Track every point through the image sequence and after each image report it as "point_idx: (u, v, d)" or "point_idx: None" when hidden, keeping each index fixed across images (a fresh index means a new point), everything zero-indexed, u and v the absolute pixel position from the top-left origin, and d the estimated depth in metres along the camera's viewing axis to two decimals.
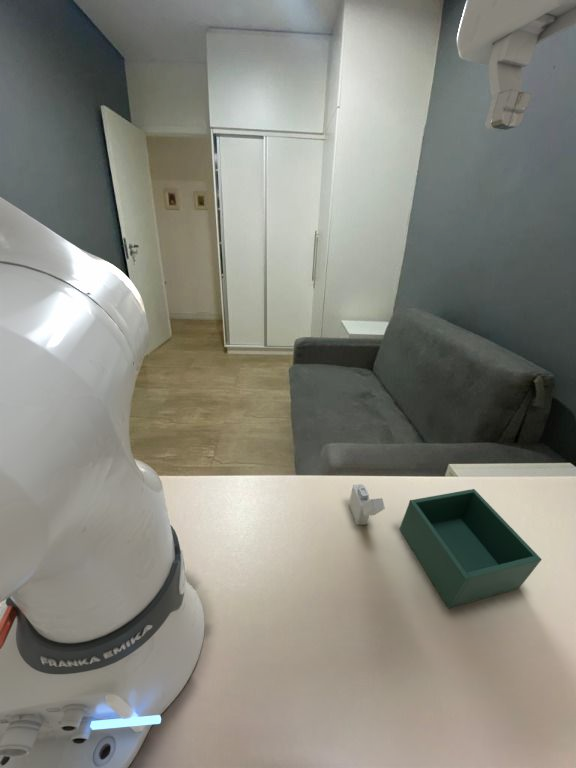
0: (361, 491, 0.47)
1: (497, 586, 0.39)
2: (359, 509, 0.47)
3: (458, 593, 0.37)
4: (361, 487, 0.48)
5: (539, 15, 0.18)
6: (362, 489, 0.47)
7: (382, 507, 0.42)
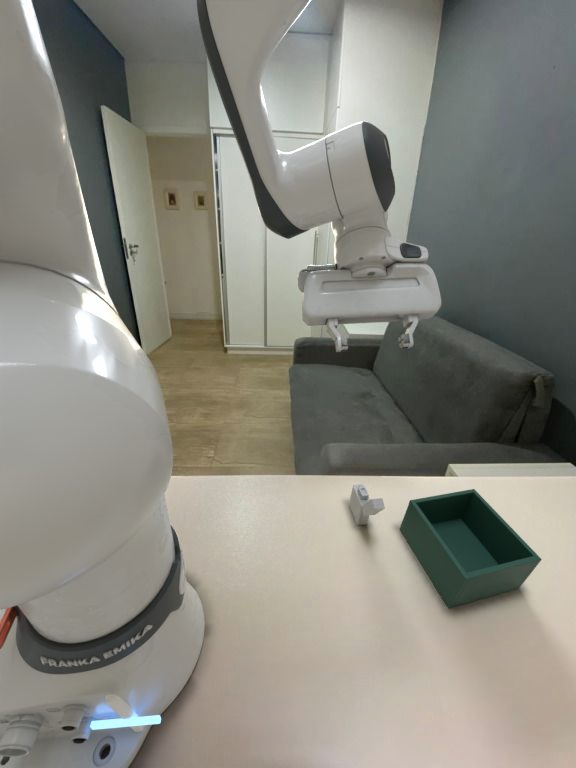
0: (361, 491, 0.47)
1: (497, 586, 0.39)
2: (359, 509, 0.47)
3: (458, 593, 0.37)
4: (361, 487, 0.48)
5: (351, 316, 0.44)
6: (362, 489, 0.47)
7: (382, 507, 0.42)
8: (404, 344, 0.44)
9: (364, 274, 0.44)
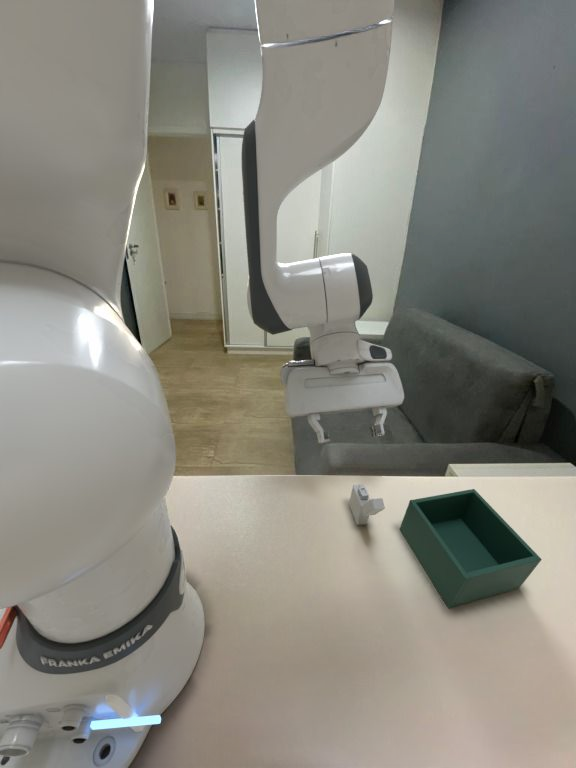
0: (361, 491, 0.47)
1: (497, 586, 0.39)
2: (359, 509, 0.47)
3: (458, 593, 0.37)
4: (361, 487, 0.48)
5: (331, 411, 0.49)
6: (362, 489, 0.47)
7: (382, 507, 0.42)
8: (377, 434, 0.50)
9: (341, 373, 0.49)
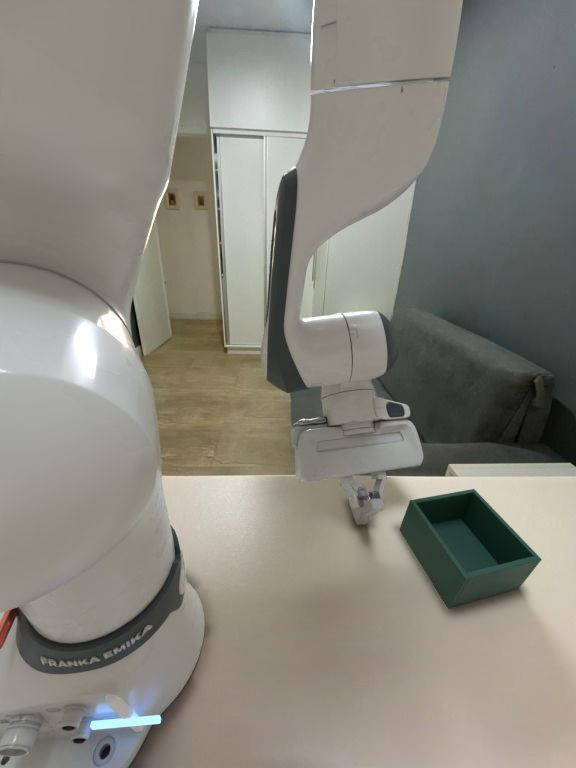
0: (361, 491, 0.47)
1: (497, 586, 0.39)
2: (359, 509, 0.47)
3: (458, 593, 0.37)
4: (361, 487, 0.48)
5: (346, 476, 0.45)
6: (362, 489, 0.47)
7: (382, 507, 0.42)
8: None
9: (356, 434, 0.46)
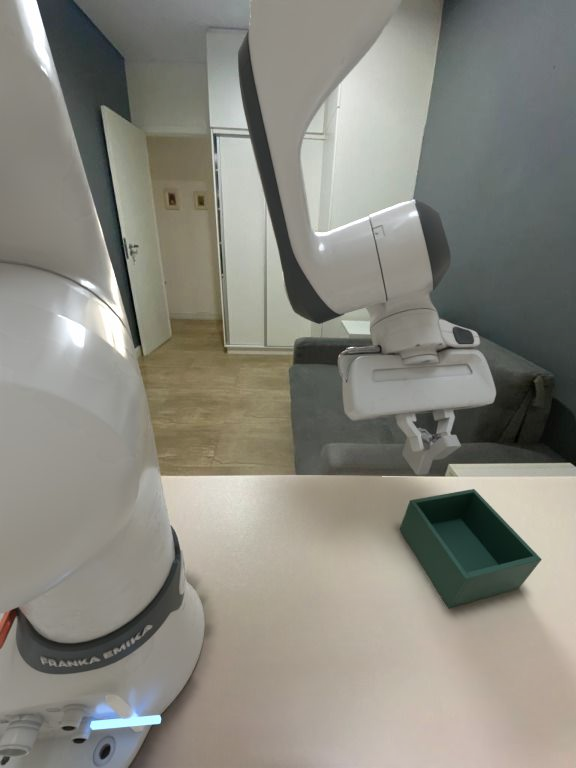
0: (422, 433, 0.39)
1: (497, 586, 0.39)
2: (421, 455, 0.39)
3: (458, 593, 0.37)
4: (421, 429, 0.40)
5: (408, 412, 0.37)
6: (422, 432, 0.39)
7: (458, 444, 0.34)
8: None
9: (419, 362, 0.38)
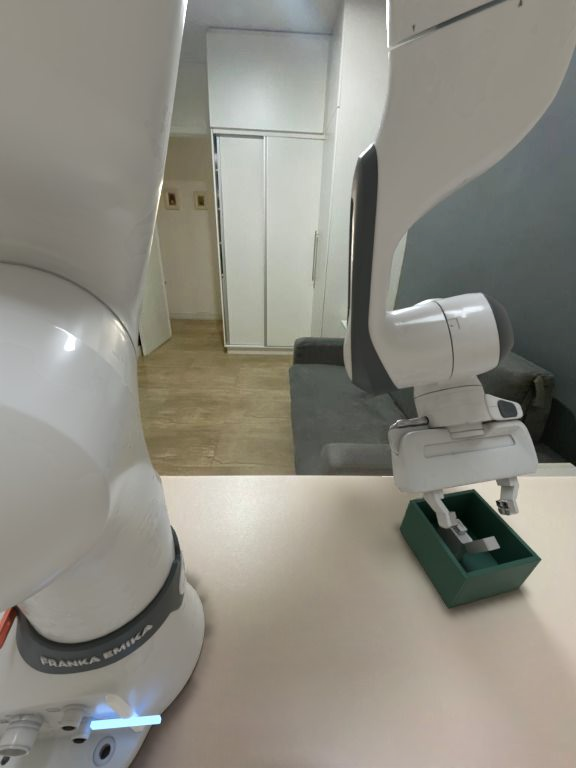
0: None
1: (497, 586, 0.39)
2: (457, 546, 0.42)
3: (458, 593, 0.37)
4: None
5: None
6: None
7: (497, 547, 0.37)
8: (511, 514, 0.40)
9: (466, 437, 0.39)
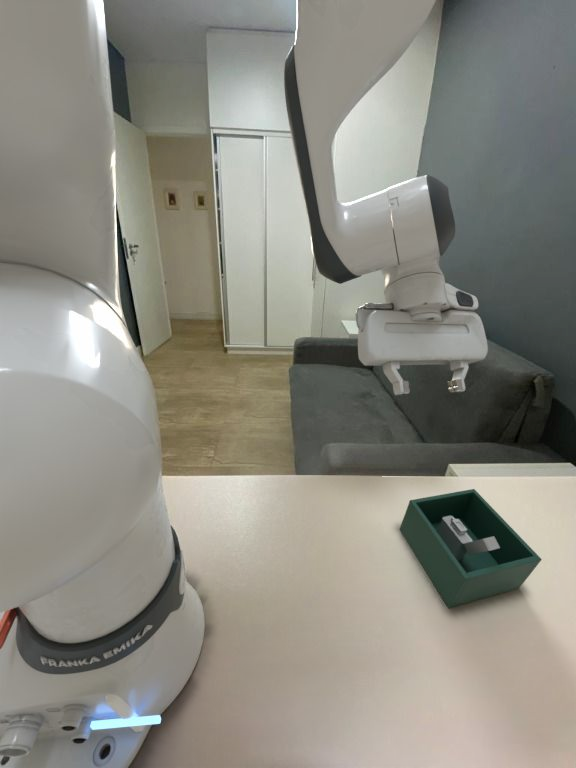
0: (457, 525, 0.42)
1: (497, 586, 0.39)
2: (457, 546, 0.42)
3: (458, 593, 0.37)
4: (455, 520, 0.43)
5: (412, 360, 0.44)
6: (457, 523, 0.43)
7: (498, 547, 0.37)
8: (458, 389, 0.45)
9: (425, 318, 0.44)
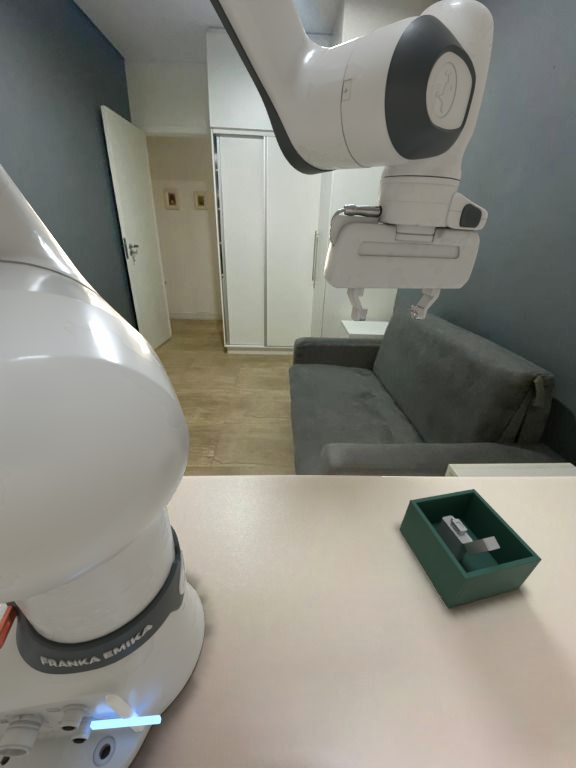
0: (457, 525, 0.42)
1: (497, 586, 0.39)
2: (457, 546, 0.42)
3: (458, 593, 0.37)
4: (455, 520, 0.43)
5: None
6: (457, 523, 0.43)
7: (498, 547, 0.37)
8: (416, 319, 0.45)
9: (410, 240, 0.37)
